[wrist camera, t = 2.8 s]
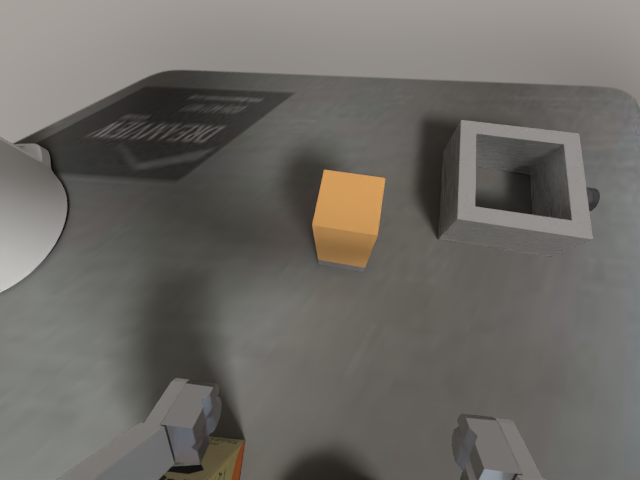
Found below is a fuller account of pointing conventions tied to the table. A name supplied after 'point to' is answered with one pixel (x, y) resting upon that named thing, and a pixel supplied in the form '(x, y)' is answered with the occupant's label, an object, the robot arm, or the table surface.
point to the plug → (347, 219)
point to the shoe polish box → (212, 462)
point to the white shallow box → (546, 189)
